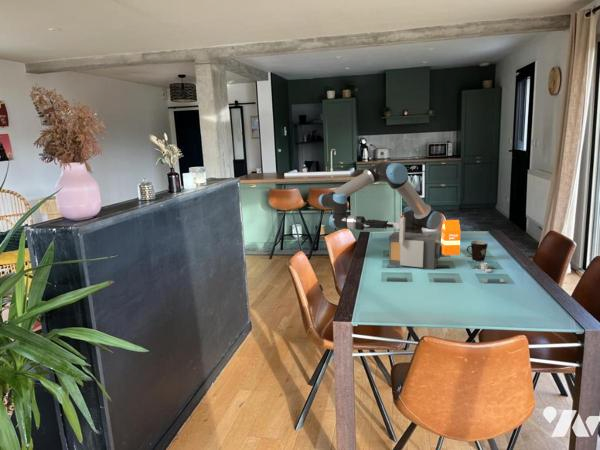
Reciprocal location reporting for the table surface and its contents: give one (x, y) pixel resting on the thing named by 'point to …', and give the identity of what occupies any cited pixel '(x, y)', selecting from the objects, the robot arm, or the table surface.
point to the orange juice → (450, 237)
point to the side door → (410, 248)
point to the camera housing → (430, 249)
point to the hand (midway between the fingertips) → (399, 225)
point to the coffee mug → (478, 250)
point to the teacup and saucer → (485, 267)
